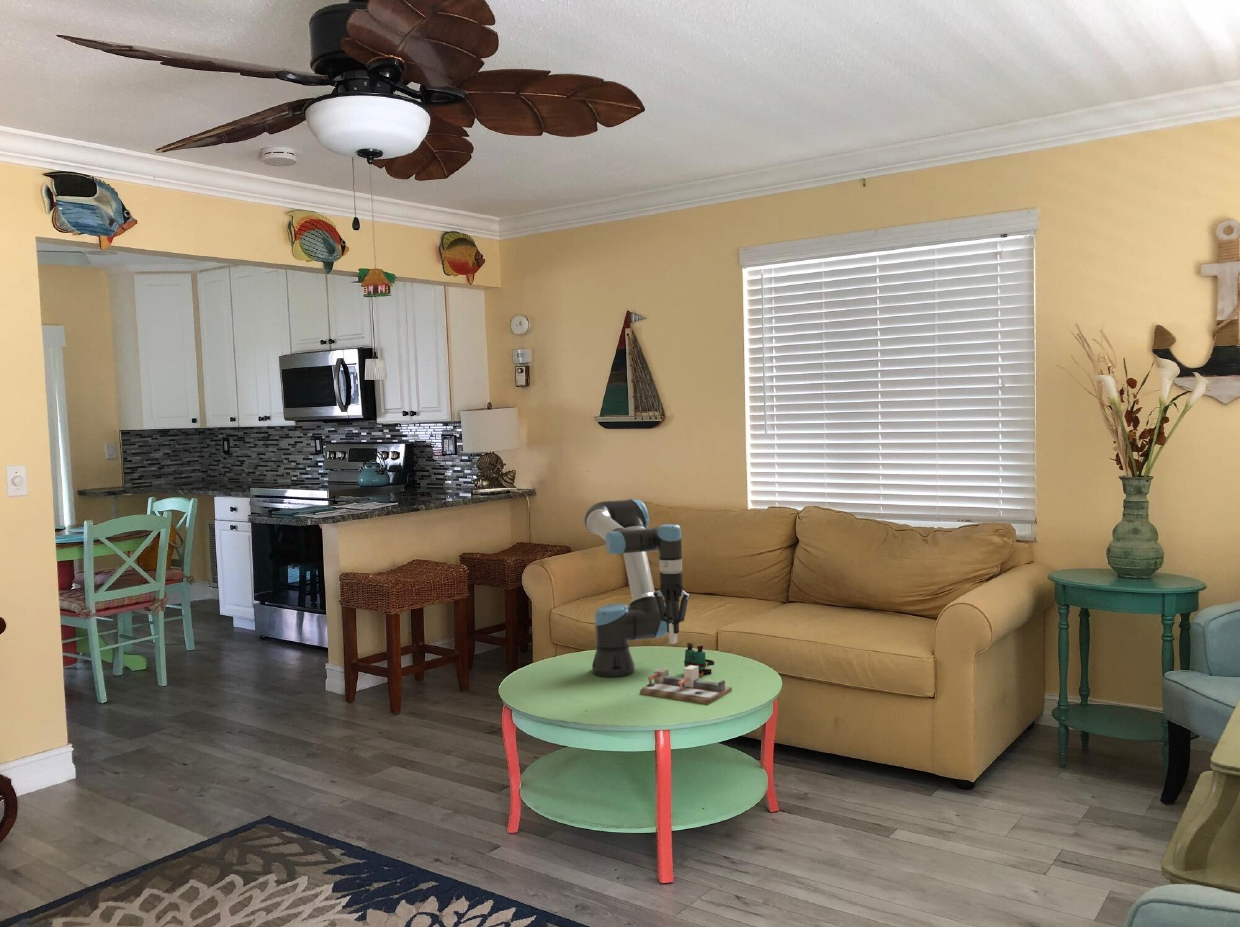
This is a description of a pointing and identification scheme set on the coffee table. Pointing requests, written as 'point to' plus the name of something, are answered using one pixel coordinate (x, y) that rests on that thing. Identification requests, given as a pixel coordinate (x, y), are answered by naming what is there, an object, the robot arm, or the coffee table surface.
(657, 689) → the gauge
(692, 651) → the binoculars
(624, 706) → the coffee table surface
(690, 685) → the slider head
